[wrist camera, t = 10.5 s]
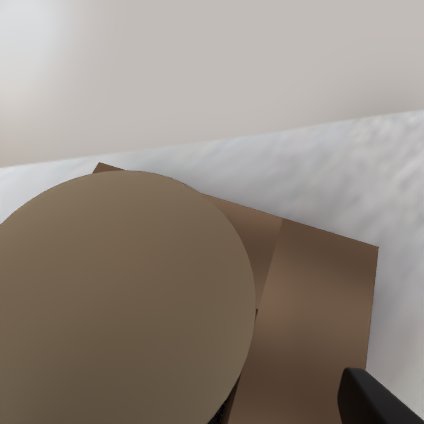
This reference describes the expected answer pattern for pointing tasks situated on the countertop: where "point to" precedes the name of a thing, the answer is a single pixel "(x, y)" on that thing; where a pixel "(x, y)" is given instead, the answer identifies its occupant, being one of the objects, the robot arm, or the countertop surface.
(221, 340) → the peg
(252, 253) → the hole block
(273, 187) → the countertop surface
